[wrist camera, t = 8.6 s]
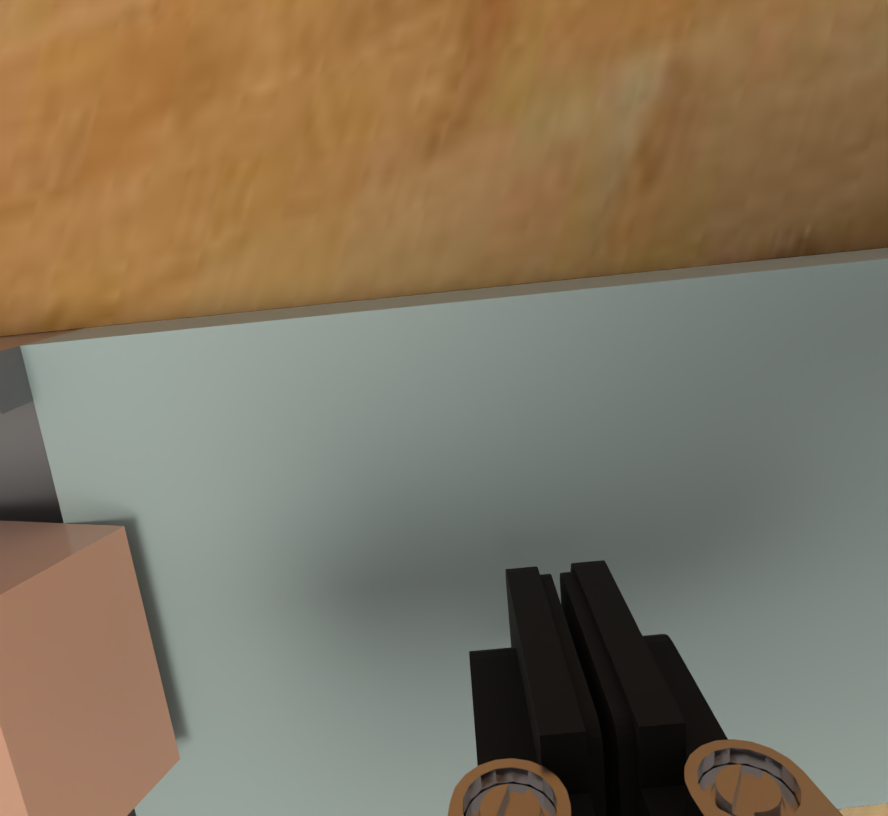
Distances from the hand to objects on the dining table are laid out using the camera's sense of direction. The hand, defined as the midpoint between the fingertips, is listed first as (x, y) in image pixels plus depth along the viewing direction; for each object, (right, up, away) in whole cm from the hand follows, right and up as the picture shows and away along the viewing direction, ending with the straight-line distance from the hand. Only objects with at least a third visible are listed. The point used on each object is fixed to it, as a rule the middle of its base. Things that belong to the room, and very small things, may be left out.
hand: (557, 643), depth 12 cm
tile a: (-10, -1, +2) cm, 10 cm away
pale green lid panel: (+1, +1, +5) cm, 5 cm away
